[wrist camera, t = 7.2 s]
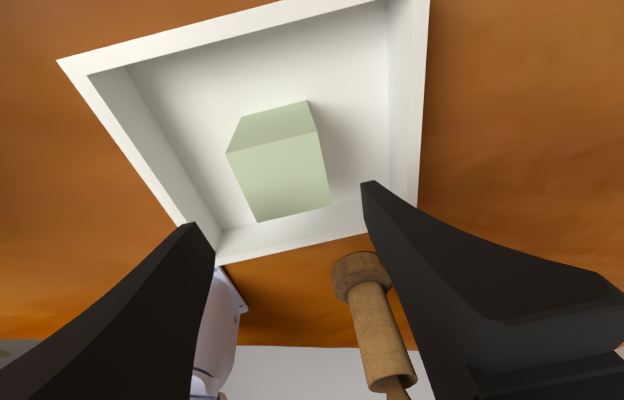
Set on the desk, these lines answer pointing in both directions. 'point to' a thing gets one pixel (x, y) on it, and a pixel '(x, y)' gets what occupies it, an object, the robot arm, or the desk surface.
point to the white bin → (263, 96)
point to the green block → (279, 162)
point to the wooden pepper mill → (374, 323)
